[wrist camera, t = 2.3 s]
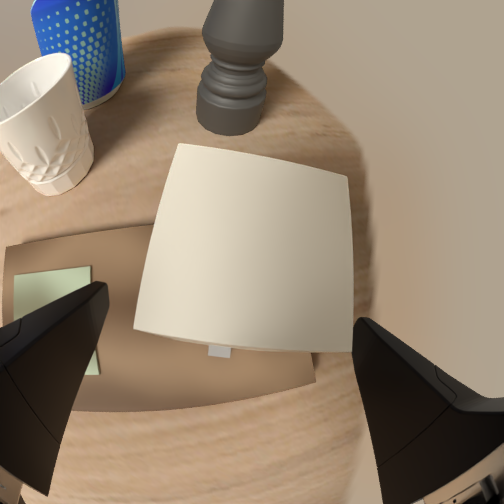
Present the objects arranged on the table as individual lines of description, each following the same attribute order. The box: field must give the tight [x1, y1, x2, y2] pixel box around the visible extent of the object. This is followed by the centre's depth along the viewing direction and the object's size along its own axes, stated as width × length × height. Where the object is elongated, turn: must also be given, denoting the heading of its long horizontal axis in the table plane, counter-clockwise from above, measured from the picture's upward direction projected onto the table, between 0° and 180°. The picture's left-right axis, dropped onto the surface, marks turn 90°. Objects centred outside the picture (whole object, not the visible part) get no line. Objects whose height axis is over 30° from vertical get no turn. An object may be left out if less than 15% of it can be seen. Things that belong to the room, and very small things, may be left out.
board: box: [2, 224, 316, 412], centre depth 14 cm, size 12×22×6 cm, turn 100°
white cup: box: [0, 53, 94, 196], centre depth 15 cm, size 8×8×10 cm
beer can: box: [31, 0, 126, 110], centre depth 16 cm, size 8×8×16 cm
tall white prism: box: [133, 143, 354, 358], centre depth 12 cm, size 6×5×11 cm
